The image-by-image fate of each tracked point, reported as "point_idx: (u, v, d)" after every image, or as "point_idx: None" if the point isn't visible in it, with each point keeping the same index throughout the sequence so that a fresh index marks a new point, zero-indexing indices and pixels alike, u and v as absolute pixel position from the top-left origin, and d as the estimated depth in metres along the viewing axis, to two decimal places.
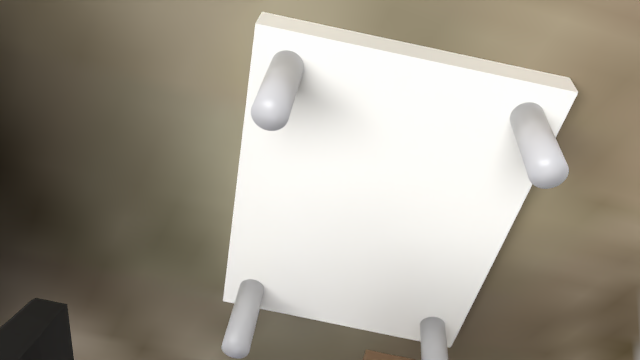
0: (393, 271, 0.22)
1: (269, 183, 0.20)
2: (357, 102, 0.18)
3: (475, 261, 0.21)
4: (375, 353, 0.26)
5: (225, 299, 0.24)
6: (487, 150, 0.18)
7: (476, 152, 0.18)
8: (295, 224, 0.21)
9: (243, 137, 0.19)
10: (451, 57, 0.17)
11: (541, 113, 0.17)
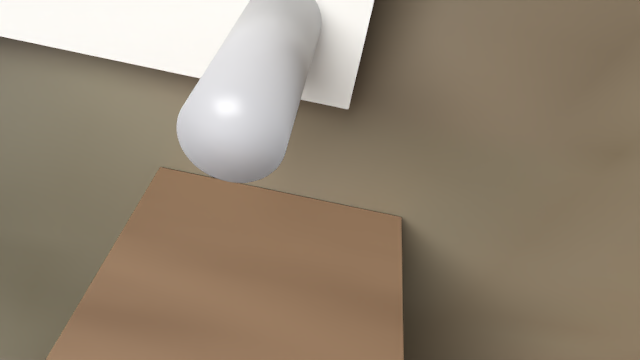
0: None
1: None
2: None
3: None
4: (180, 177, 0.10)
5: None
6: None
7: None
8: None
9: None
10: None
11: None
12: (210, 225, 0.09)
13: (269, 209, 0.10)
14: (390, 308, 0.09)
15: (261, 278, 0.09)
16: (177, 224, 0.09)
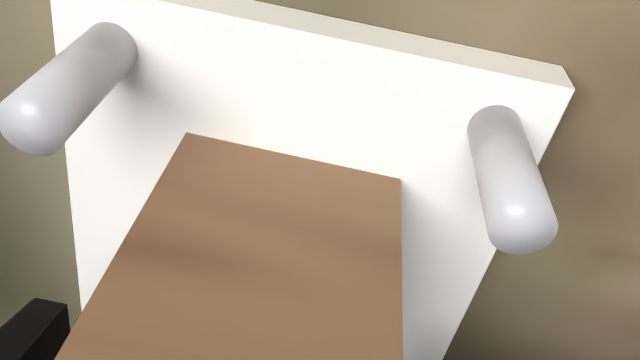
0: None
1: (119, 225, 0.13)
2: (228, 106, 0.11)
3: (428, 334, 0.14)
4: (204, 141, 0.12)
5: None
6: (435, 179, 0.12)
7: (418, 182, 0.12)
8: None
9: (67, 158, 0.12)
10: (372, 33, 0.11)
11: (515, 123, 0.10)
12: (232, 181, 0.11)
13: (283, 169, 0.11)
14: (390, 251, 0.10)
15: (278, 225, 0.10)
16: (203, 178, 0.11)
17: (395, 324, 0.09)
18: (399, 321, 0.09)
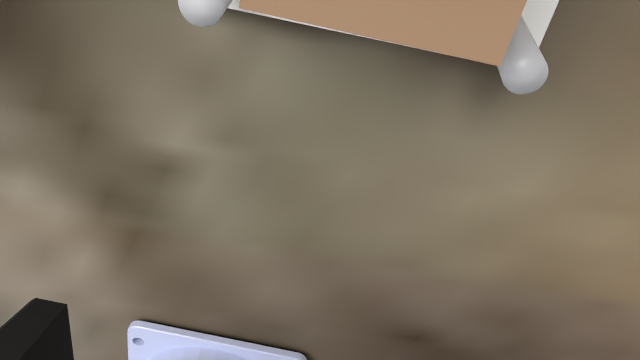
0: None
1: None
2: None
3: None
4: None
5: None
6: None
7: None
8: None
9: None
10: None
11: None
12: None
13: None
14: None
15: None
16: None
17: None
18: None
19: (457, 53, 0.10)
